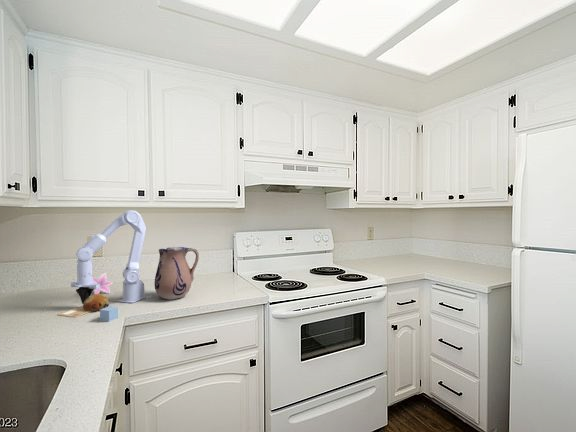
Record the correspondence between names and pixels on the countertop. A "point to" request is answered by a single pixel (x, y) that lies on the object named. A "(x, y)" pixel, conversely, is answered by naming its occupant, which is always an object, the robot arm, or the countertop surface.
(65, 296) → the countertop surface
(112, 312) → the blue cube
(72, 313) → the envelope
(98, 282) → the lily
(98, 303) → the bread roll
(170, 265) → the ceramic pitcher
